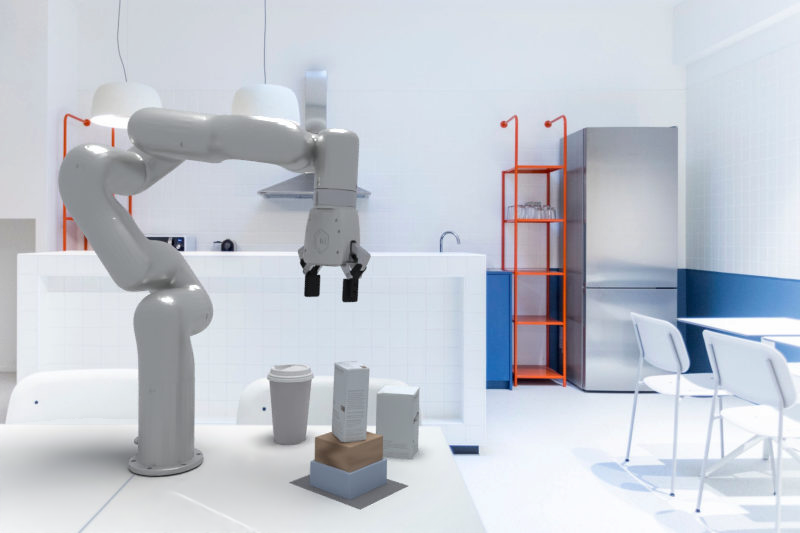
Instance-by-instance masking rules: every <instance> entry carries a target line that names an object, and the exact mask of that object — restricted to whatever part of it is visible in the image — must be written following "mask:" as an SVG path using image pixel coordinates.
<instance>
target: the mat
mask: <svg viewBox="0 0 800 533" xmlns="http://www.w3.org/2000/svg"><path fill="white" fill-rule="evenodd" d="M288 483H289V484H292V485H294V486H296V487H298V488H301V489H305V490H306V491H310V492H313V493H315V494H318V495H321V496H323V497H326V498H328V499H331V500H334V501H336V502H339V503H342V504H344V505H346V506H350V507H351V508H352V507H353V508H355V509H357V510H362V509H364V508H367V507H368V506H371V505H372V504H375V503H377V502H379V501H380V500H383V499H384V498H387V497H389V496H391V495H393V494H395V493H397V492H399V491H402V490H403V489H405V488H408V487H409V485H408V484H405V483H401V482H398V481H395V480H392V479H389V478H387V483H386V484H383V485H381V486H379V487H377V488H375V489H373V490H370V491H368V492H366V493H364V494H362V495H359V496H357V497H355V498H353V499H351V500H349V499H346V498H343V497H341V496H338V495H335V494H333V493H330V492H327V491H325V490H322V489H319V488H316V487H314V486H311V485H310V474H308V475H304V476H302V477H299V478H297V479H294V480H292V481H289V482H288Z"/></svg>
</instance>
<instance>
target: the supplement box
mask: <svg viewBox="0 0 800 533" xmlns="http://www.w3.org/2000/svg"><path fill="white" fill-rule="evenodd" d="M375 410H376V411H375V412H376V413H375V414H376V415H375V417H376V418H375V434H378V435H382V436H383V458H386V459H387V458H388V459H389V458H390V459H400V460H413V459H414V456H415V454H416V453H417V451H418V450H419V434H420V432H419V430H420V429H419V427H420V387H419V386H415V385H413V386H410V385H390V384H387V385H386V384H385V385H383V386H382V387H381V388H380V389H379V390H378V391H377V392H376V409H375Z"/></svg>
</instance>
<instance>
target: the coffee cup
mask: <svg viewBox="0 0 800 533" xmlns="http://www.w3.org/2000/svg"><path fill="white" fill-rule="evenodd" d="M314 378H315V376H314V372H313V371H312V369H311V366H310V365H308V364H303V363H302V364H301V363H281V364H276V365H273V366H271V368H270V371H269V372H268V373H267V376H266V379H267V380H268V382H269V392H270V393H269V394H270V395H269V396H270V405H271V417H272V419H271V420H272V432H273V433H272V434H273V441H274V443H276V444H279V445H287V446H289V445H290V444H292V445H297V444H302V443H304V442H305V441H306V440H307V430H308V420H309V409H310V399H311V390H312V382H313V379H314ZM303 441H304V442H303ZM301 442H302V443H301Z"/></svg>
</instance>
